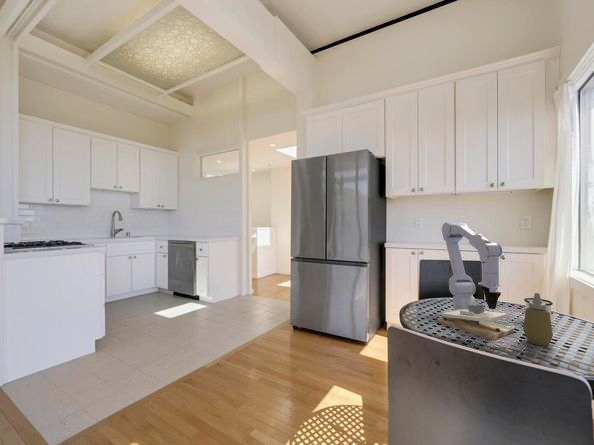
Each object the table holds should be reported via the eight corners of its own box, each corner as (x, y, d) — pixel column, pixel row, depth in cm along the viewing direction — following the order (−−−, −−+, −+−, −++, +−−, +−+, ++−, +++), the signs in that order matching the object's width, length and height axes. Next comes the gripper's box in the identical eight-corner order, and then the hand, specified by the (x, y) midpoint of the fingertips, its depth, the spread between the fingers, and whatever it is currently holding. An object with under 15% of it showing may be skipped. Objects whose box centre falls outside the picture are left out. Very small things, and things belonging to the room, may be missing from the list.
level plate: (460, 311, 127) (459, 301, 128) (508, 316, 109) (506, 305, 110) (441, 316, 122) (440, 305, 122) (488, 322, 104) (486, 310, 104)
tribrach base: (459, 316, 129) (459, 307, 129) (513, 332, 109) (513, 322, 109) (437, 321, 122) (437, 312, 122) (490, 340, 102) (490, 329, 102)
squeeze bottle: (517, 338, 103) (516, 290, 103) (537, 337, 104) (536, 289, 104) (538, 348, 95) (537, 296, 95) (559, 347, 96) (558, 295, 96)
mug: (534, 316, 126) (534, 297, 126) (559, 324, 117) (558, 302, 117) (514, 319, 123) (514, 299, 123) (537, 327, 114) (537, 305, 114)
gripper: (476, 269, 121) (477, 300, 121) (480, 275, 108) (480, 309, 108) (496, 270, 117) (497, 302, 117) (502, 276, 105) (503, 312, 105)
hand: (490, 306), depth 112 cm, fingers open, 7 cm apart
